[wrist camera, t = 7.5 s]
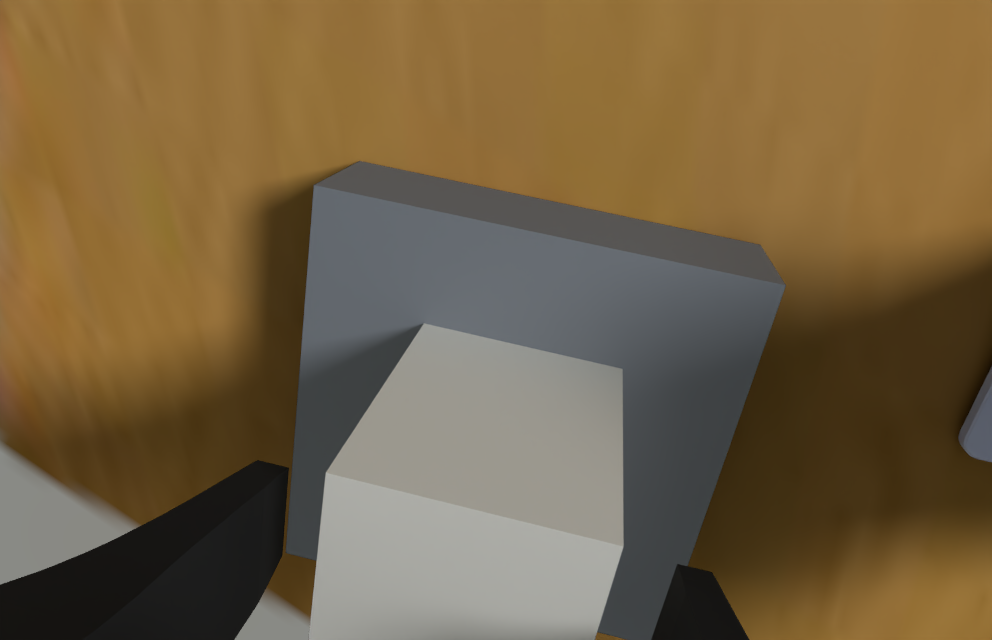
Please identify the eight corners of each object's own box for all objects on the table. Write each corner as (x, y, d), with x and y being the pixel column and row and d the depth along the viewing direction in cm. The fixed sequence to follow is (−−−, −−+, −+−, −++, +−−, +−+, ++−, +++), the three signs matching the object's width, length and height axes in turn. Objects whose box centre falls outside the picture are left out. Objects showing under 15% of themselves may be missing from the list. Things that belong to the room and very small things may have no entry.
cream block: (622, 368, 16) (623, 546, 11) (577, 531, 18) (558, 756, 12) (423, 323, 17) (326, 472, 11) (399, 487, 18) (303, 687, 13)
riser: (760, 244, 18) (785, 285, 15) (654, 568, 22) (658, 647, 19) (359, 161, 18) (313, 184, 16) (327, 487, 22) (285, 552, 20)
